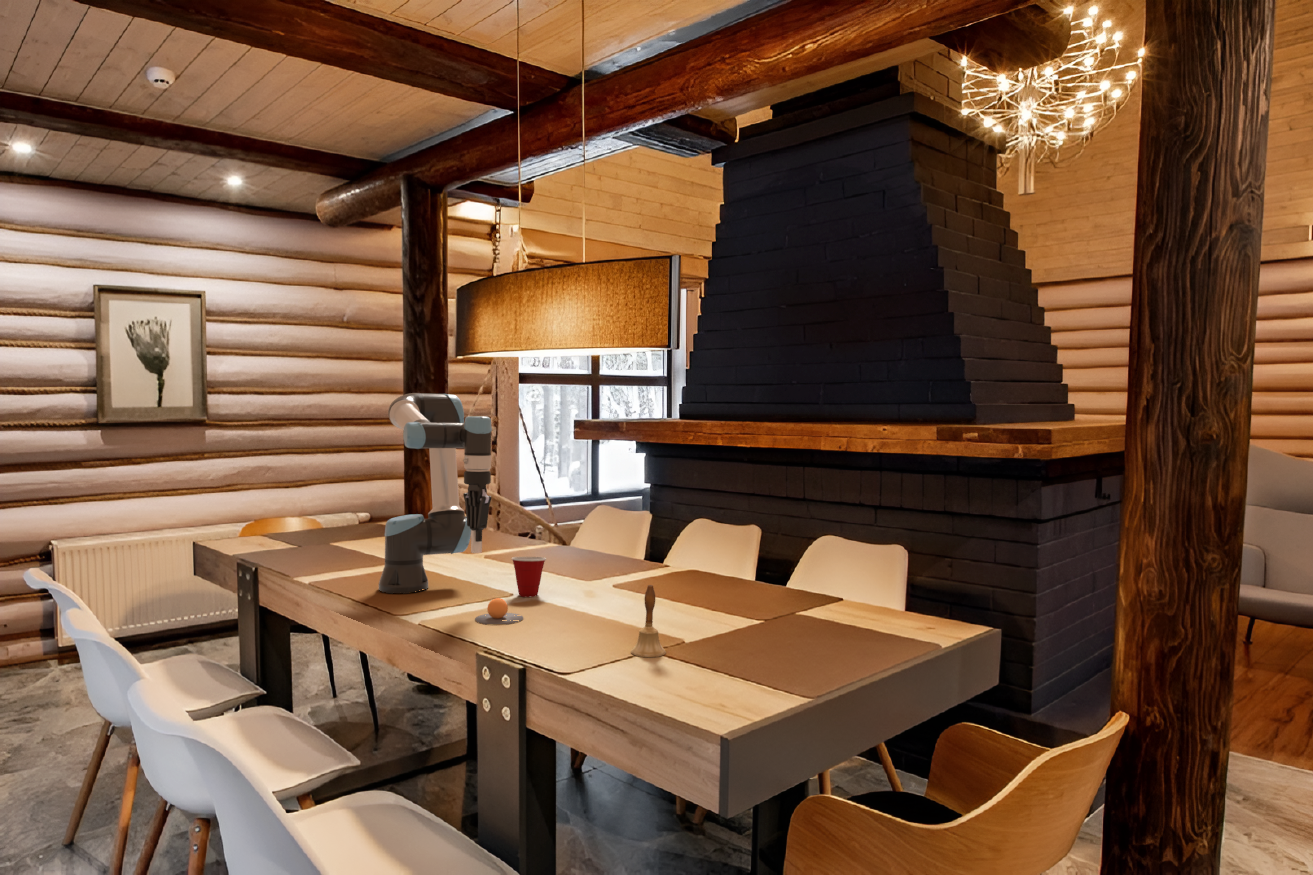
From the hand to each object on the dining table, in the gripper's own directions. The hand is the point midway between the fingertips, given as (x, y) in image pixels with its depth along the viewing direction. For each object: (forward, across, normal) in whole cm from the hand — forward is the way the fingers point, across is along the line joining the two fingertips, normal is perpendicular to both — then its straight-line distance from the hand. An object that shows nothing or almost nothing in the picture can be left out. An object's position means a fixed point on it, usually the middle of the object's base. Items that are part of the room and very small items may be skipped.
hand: (476, 552), depth 232 cm
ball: (+14, +13, 0) cm, 19 cm away
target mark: (+16, +14, 0) cm, 21 cm away
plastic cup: (+17, -8, +22) cm, 29 cm away
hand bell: (+17, +63, +13) cm, 66 cm away
